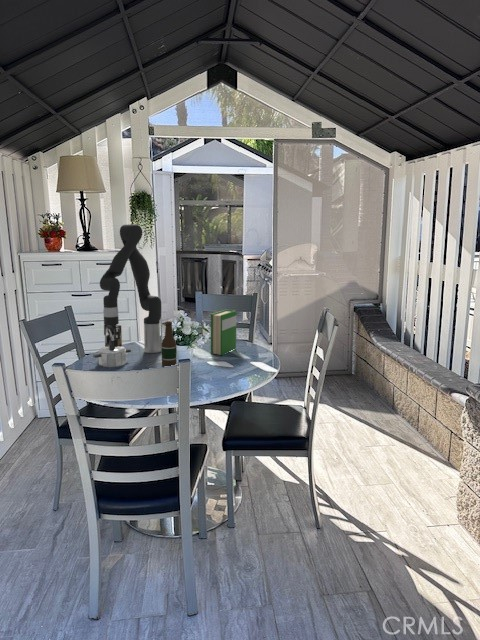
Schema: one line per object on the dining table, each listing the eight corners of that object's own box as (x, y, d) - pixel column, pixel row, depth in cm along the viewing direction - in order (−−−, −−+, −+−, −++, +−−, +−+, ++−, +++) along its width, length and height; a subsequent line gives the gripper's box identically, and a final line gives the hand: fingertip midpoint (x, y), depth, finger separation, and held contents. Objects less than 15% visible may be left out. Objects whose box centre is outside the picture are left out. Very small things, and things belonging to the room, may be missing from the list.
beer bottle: (179, 365, 244) (179, 321, 240) (170, 369, 238) (169, 323, 233) (168, 363, 248) (167, 319, 243) (158, 367, 241) (157, 322, 237)
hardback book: (221, 356, 264) (222, 315, 259) (210, 354, 267) (210, 314, 263) (235, 349, 279) (236, 310, 275) (225, 348, 283) (225, 309, 278)
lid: (118, 348, 255) (118, 336, 254) (129, 353, 245) (129, 341, 243) (94, 351, 246) (94, 339, 245) (105, 357, 236) (104, 344, 235)
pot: (124, 357, 258) (124, 345, 257) (136, 363, 248) (135, 350, 247) (89, 363, 246) (88, 350, 244) (100, 369, 235) (99, 356, 234)
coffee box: (115, 356, 261) (114, 328, 258) (105, 355, 262) (103, 327, 259) (122, 352, 270) (121, 325, 267) (112, 351, 271) (111, 324, 268)
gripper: (123, 316, 239) (124, 346, 242) (111, 312, 250) (113, 341, 253) (110, 318, 234) (111, 349, 237) (98, 314, 245) (99, 343, 248)
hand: (112, 345), depth 245 cm, fingers open, 8 cm apart
